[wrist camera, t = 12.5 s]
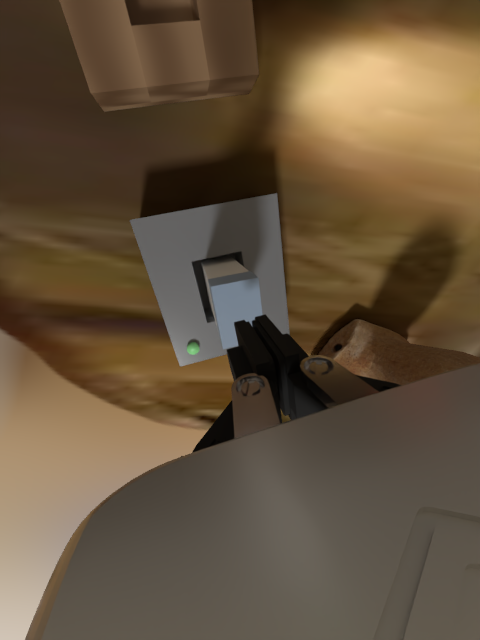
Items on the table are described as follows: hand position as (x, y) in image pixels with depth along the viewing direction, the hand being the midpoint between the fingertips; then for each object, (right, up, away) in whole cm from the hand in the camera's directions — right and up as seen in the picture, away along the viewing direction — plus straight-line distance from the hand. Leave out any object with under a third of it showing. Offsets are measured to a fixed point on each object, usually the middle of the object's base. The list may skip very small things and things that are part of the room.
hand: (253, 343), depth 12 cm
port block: (-3, +6, +13) cm, 15 cm away
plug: (-3, +6, +13) cm, 14 cm away
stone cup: (+18, -3, +23) cm, 29 cm away
